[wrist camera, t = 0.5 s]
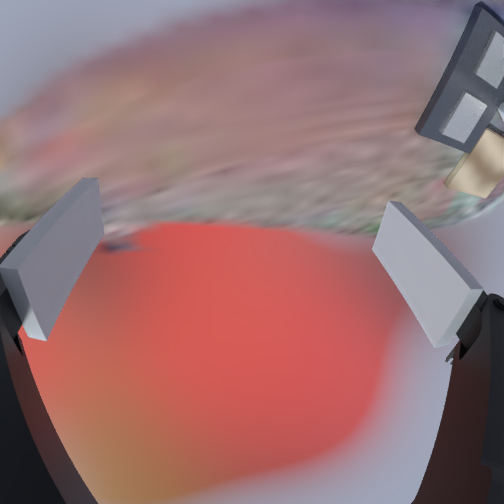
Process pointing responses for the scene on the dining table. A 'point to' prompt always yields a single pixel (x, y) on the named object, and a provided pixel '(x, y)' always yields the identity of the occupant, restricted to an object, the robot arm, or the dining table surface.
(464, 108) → the label panel
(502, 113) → the milk carton
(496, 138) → the coaster
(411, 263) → the robot arm
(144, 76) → the dining table surface
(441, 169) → the dining table surface
